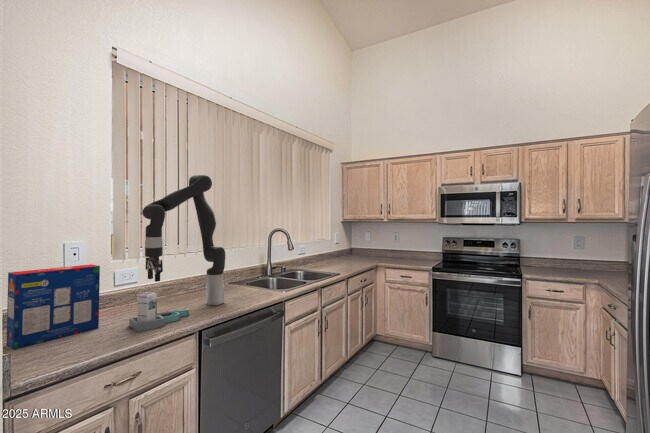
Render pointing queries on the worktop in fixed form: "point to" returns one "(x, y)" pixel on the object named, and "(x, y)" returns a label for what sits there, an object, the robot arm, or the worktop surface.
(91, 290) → the blue toy box
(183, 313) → the clip
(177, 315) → the clip
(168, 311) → the tall charcoal prism
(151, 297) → the syrup box
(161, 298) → the worktop surface
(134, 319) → the holder
